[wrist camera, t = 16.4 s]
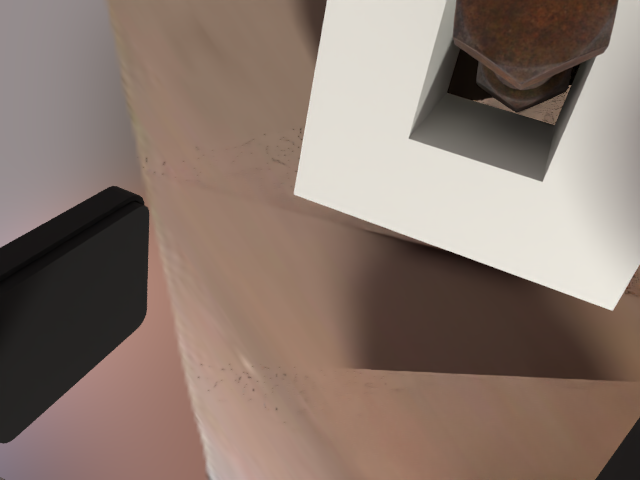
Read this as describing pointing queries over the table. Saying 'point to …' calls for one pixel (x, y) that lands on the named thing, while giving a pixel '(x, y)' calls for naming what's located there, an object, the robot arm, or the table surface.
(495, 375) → the table surface
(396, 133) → the hitch block
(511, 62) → the bolt
